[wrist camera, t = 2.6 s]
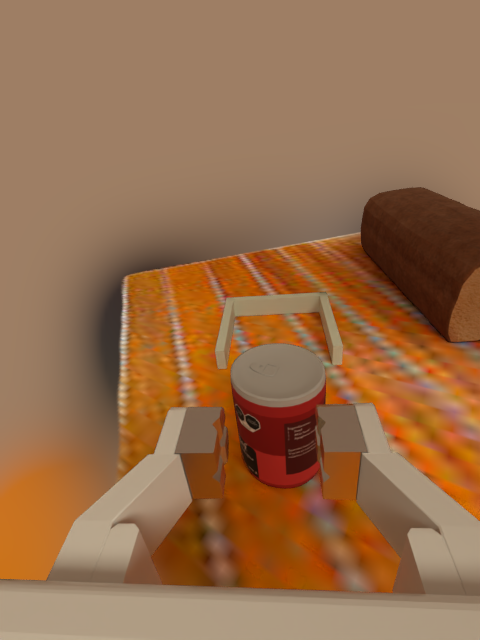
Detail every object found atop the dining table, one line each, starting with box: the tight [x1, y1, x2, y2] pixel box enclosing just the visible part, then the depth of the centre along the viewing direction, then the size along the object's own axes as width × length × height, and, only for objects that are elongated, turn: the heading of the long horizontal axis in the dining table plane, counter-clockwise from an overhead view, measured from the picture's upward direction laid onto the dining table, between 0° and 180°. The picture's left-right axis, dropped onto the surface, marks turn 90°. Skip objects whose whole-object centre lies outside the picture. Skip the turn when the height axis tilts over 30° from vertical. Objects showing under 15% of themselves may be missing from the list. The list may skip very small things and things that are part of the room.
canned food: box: [231, 343, 326, 488], centre depth 32 cm, size 8×8×11 cm
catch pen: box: [215, 292, 343, 369], centre depth 53 cm, size 16×15×3 cm
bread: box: [361, 187, 480, 342], centre depth 60 cm, size 16×39×13 cm, turn 0°
